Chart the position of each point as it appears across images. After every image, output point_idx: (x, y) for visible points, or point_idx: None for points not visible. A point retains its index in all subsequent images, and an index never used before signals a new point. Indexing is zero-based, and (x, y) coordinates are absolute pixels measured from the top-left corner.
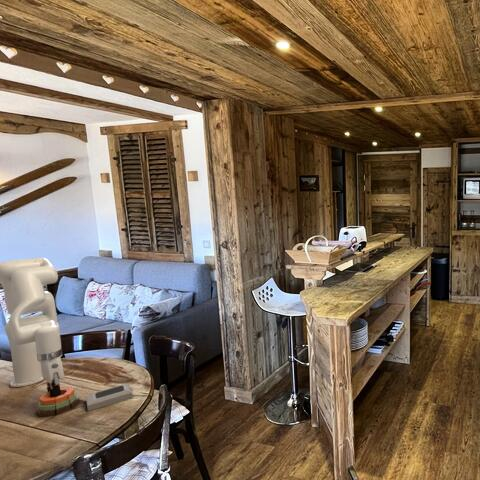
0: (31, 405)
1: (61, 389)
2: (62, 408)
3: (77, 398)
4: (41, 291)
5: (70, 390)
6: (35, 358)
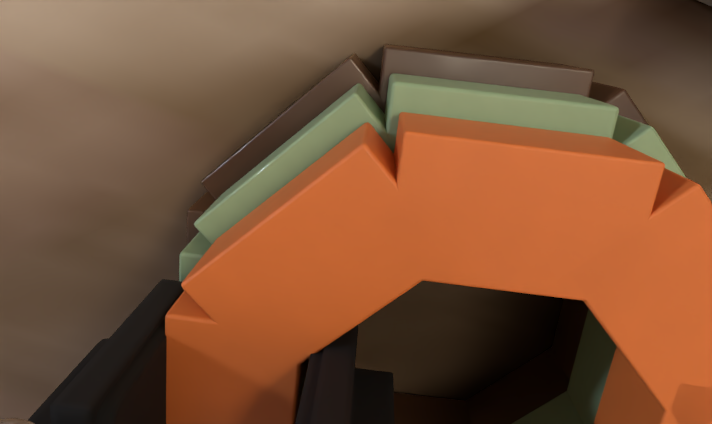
0: (32, 409)
1: (323, 320)
2: None
3: (620, 101)
4: None
5: (623, 242)
6: None
